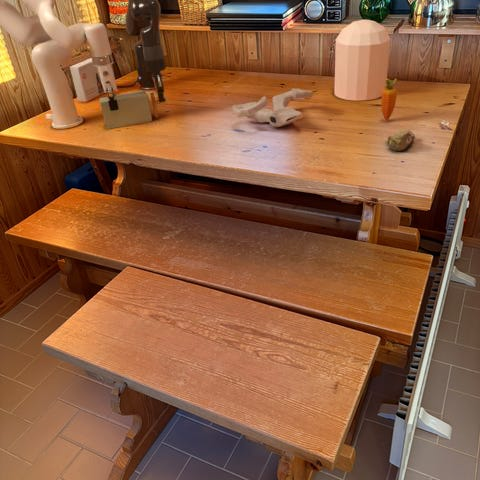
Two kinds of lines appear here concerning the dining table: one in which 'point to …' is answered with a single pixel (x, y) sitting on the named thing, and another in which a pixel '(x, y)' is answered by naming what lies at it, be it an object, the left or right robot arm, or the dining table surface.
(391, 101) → the carrot
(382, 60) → the container
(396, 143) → the rock
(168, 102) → the drawer
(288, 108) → the beige branched piece
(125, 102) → the grey rectangular box
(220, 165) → the dining table surface
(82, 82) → the skincare box
